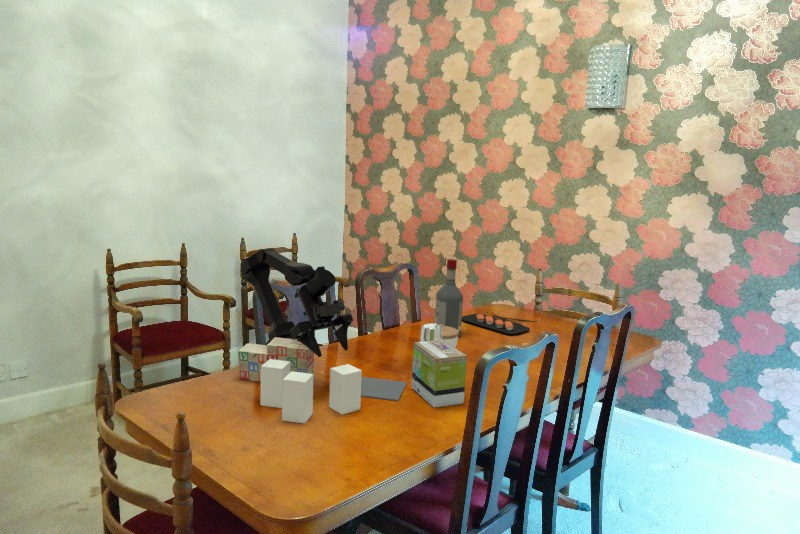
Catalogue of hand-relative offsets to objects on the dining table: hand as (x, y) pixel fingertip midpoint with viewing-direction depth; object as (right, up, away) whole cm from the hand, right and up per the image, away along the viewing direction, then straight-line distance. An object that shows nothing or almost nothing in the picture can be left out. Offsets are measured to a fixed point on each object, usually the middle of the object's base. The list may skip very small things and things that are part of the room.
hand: (333, 353), depth 164 cm
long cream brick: (-16, -13, -3) cm, 21 cm away
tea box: (+29, -14, +7) cm, 33 cm away
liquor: (+37, -3, +67) cm, 77 cm away
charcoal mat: (+12, -12, +10) cm, 20 cm away
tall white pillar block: (-8, -15, -12) cm, 20 cm away
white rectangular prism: (+3, -14, -5) cm, 15 cm away
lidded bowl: (+32, -7, +43) cm, 54 cm away
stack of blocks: (-18, -10, +13) cm, 25 cm away
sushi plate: (+64, -1, +90) cm, 110 cm away
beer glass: (+28, -10, +27) cm, 40 cm away
